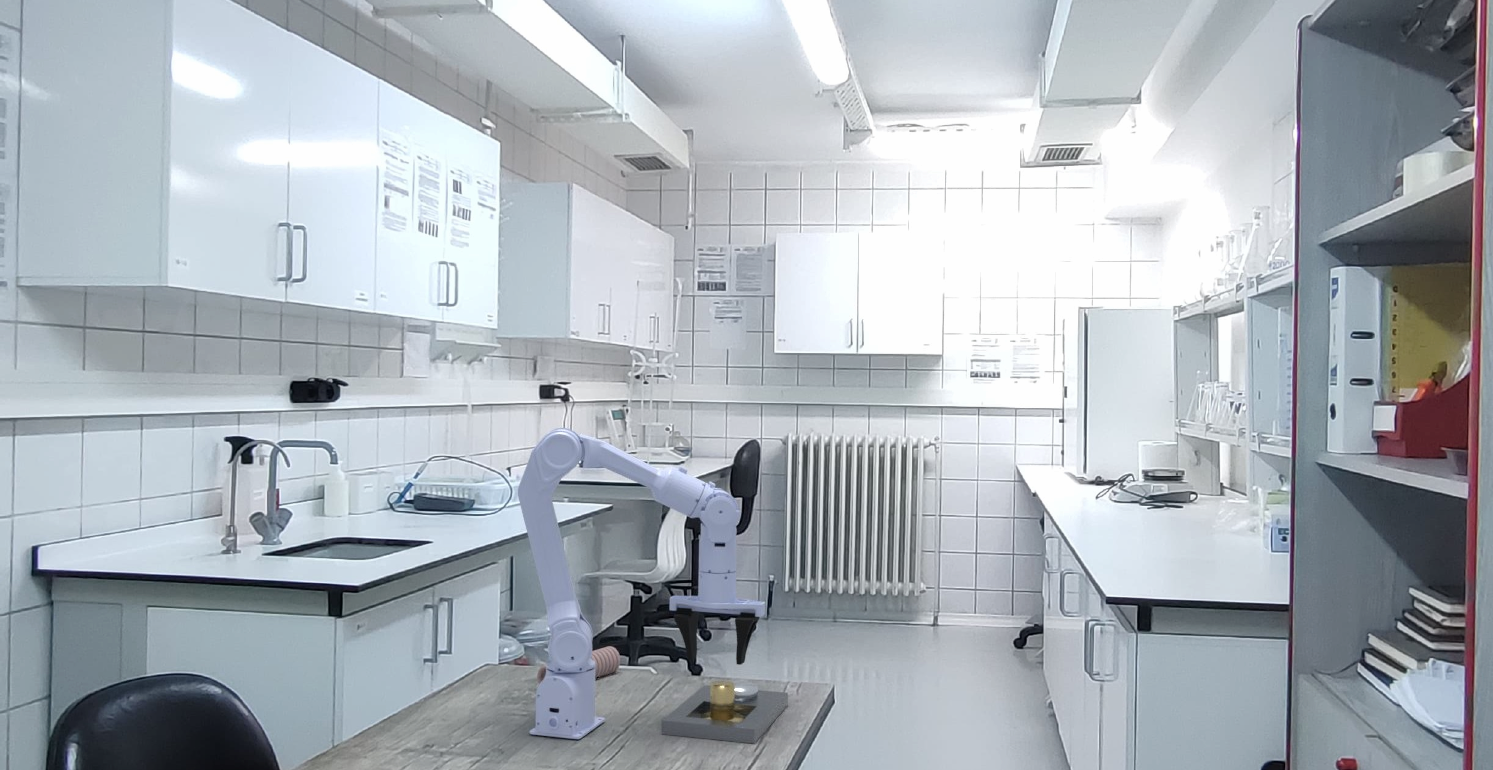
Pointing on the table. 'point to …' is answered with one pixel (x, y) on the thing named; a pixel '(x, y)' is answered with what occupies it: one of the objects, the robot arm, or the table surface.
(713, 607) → the robot arm
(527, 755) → the table surface
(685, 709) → the carrier plate
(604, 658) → the coil
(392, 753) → the table surface
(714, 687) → the gold flanged round piece
